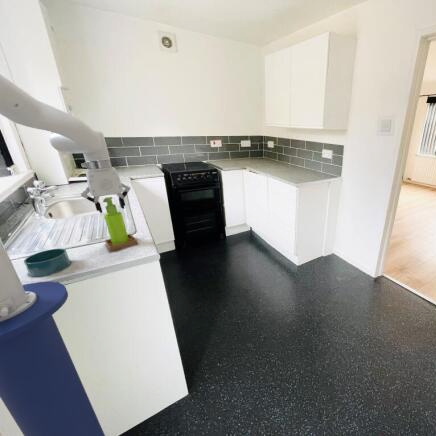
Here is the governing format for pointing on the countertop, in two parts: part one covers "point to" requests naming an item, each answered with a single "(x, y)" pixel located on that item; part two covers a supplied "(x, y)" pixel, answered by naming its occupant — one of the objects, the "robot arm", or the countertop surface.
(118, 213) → the soap dispenser
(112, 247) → the tray
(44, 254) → the bowl
